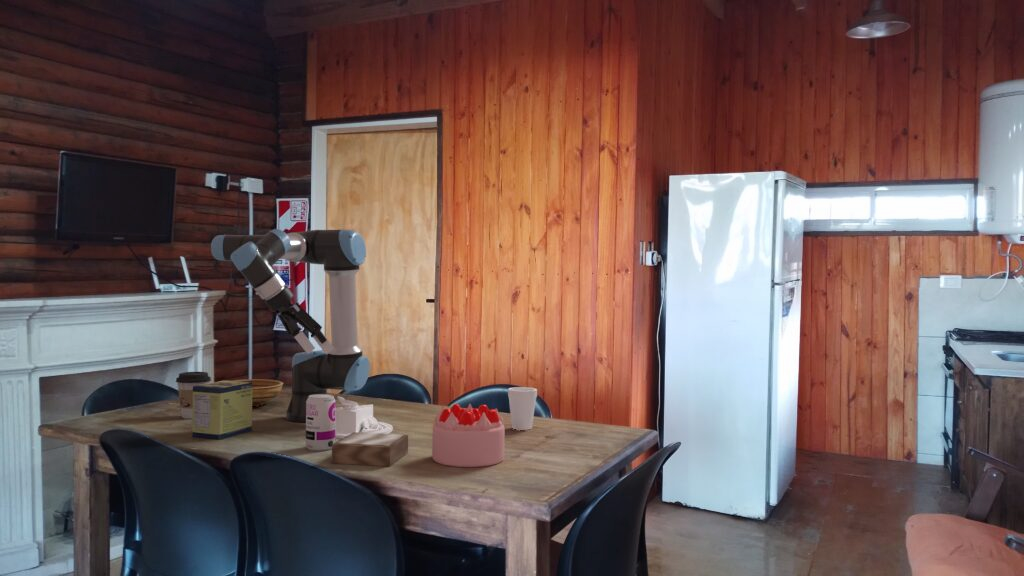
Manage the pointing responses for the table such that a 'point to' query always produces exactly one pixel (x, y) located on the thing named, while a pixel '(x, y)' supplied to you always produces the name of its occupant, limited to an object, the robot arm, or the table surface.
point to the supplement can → (320, 422)
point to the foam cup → (522, 406)
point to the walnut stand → (370, 449)
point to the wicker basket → (263, 390)
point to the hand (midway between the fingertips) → (320, 351)
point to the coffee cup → (189, 390)
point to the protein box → (222, 409)
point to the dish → (357, 420)
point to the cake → (468, 437)
